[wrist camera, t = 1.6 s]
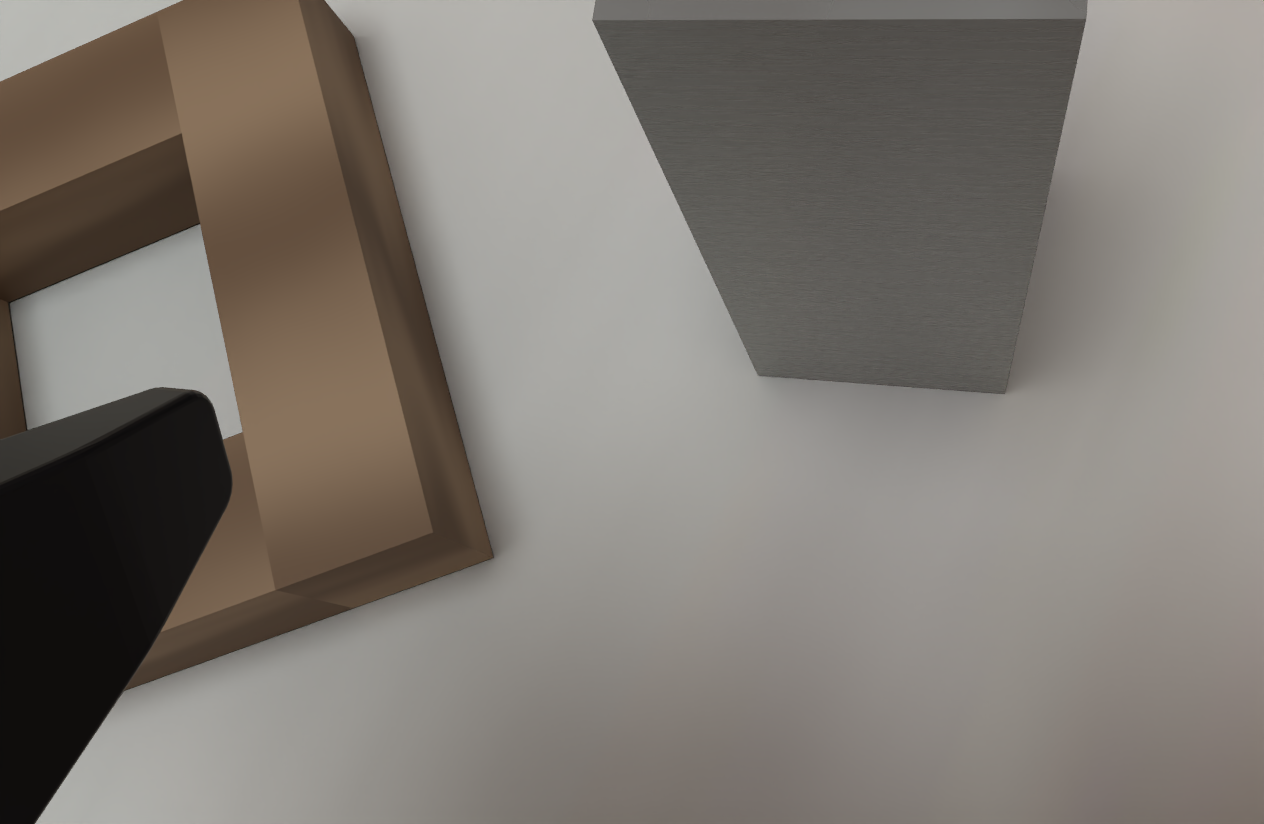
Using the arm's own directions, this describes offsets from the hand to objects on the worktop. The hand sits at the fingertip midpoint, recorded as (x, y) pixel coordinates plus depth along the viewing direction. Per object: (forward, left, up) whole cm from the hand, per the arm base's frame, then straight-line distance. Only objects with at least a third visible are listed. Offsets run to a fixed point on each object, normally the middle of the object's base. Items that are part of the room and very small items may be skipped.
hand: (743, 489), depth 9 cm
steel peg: (+3, -6, -13) cm, 15 cm away
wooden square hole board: (+15, +4, -13) cm, 20 cm away
